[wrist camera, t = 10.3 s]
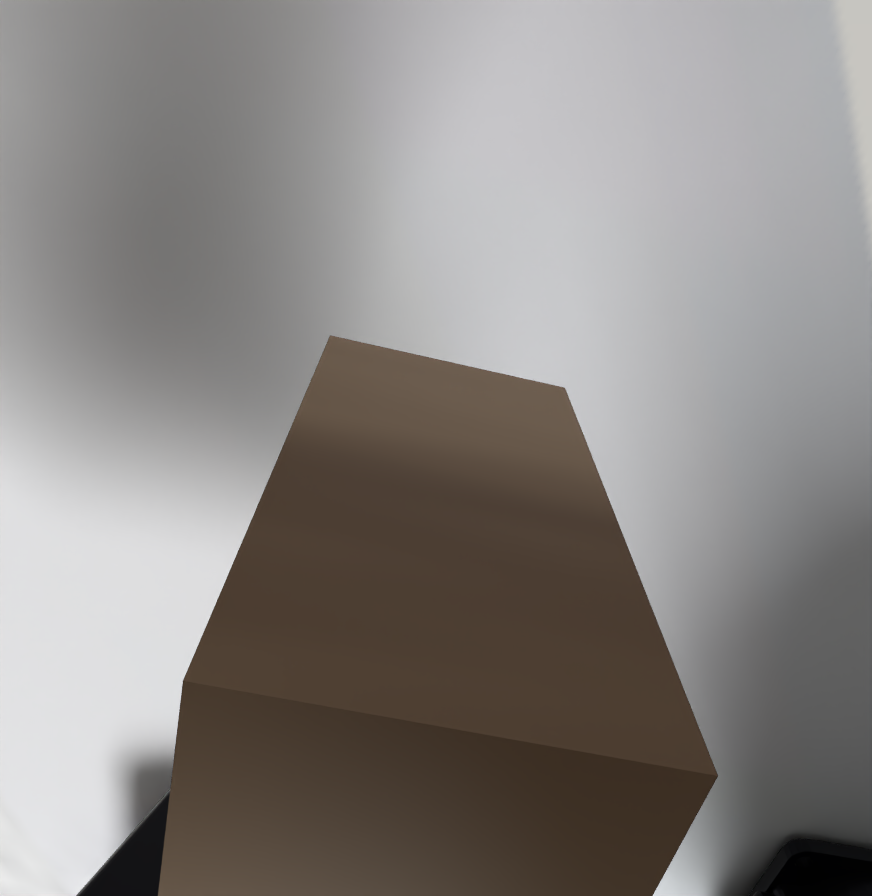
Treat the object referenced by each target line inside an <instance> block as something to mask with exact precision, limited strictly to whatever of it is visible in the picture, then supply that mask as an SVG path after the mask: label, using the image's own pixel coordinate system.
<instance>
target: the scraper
mask: <svg viewBox="0 0 872 896" xmlns="http://www.w3.org/2000/svg"><path fill="white" fill-rule="evenodd" d="M717 777H718V775H717V772H716V770H715V767H714V765H713V762H712V760H711V757H710V755H709V752H708V750H707V747H706V744H705V742H704V739H703V737H702V734H701V732H700V729H699V727H698V724H697V722H696V719H695V717H694V714H693V712H692V709H691V706H690V704H689V701H688V699H687V696H686V694H685V691H684V689H683V686H682V684H681V681H680V679H679V676H678V673H677V671H676V668H675V666H674V663H673V661H672V658H671V656H670V653H669V651H668V648H667V646H666V643H665V641H664V638H663V635H662V633H661V630H660V628H659V625H658V623H657V620H656V618H655V615H654V613H653V610H652V608H651V605H650V603H649V600H648V597H647V595H646V592H645V590H644V587H643V585H642V582H641V580H640V577H639V575H638V572H637V570H636V567H635V565H634V562H633V559H632V557H631V554H630V552H629V549H628V547H627V544H626V542H625V539H624V537H623V534H622V532H621V529H620V527H619V524H618V521H617V519H616V516H615V514H614V511H613V509H612V506H611V504H610V501H609V499H608V496H607V494H606V491H605V488H604V486H603V483H602V481H601V478H600V476H599V473H598V471H597V468H596V466H595V463H594V461H593V458H592V456H591V453H590V450H589V448H588V445H587V443H586V440H585V438H584V435H583V433H582V430H581V428H580V425H579V423H578V420H577V418H576V415H575V412H574V410H573V407H572V405H571V402H570V400H569V397H568V395H567V392H566V390H565V388H563V387H559V386H554V385H550V384H545V383H541V382H536V381H532V380H527V379H523V378H518V377H514V376H509V375H505V374H500V373H496V372H491V371H487V370H482V369H478V368H474V367H469V366H465V365H460V364H456V363H451V362H447V361H442V360H438V359H433V358H429V357H424V356H420V355H415V354H411V353H406V352H402V351H397V350H393V349H388V348H384V347H379V346H375V345H370V344H366V343H361V342H357V341H352V340H348V339H344V338H339V337H335V336H330V337H329V339H328V342H327V344H326V346H325V349H324V351H323V353H322V356H321V358H320V360H319V363H318V365H317V368H316V370H315V372H314V375H313V377H312V379H311V382H310V384H309V386H308V389H307V391H306V393H305V396H304V398H303V400H302V403H301V405H300V407H299V410H298V412H297V414H296V417H295V419H294V422H293V424H292V426H291V429H290V431H289V433H288V436H287V438H286V440H285V443H284V445H283V447H282V450H281V452H280V454H279V457H278V459H277V461H276V464H275V466H274V469H273V471H272V473H271V476H270V478H269V480H268V483H267V485H266V487H265V490H264V492H263V494H262V497H261V499H260V501H259V504H258V506H257V508H256V511H255V513H254V516H253V518H252V520H251V523H250V525H249V527H248V530H247V532H246V534H245V537H244V539H243V541H242V544H241V546H240V548H239V551H238V553H237V555H236V558H235V560H234V562H233V565H232V567H231V570H230V572H229V574H228V577H227V579H226V581H225V584H224V586H223V588H222V591H221V593H220V595H219V598H218V600H217V602H216V605H215V607H214V609H213V612H212V614H211V617H210V619H209V621H208V624H207V626H206V628H205V631H204V633H203V635H202V638H201V640H200V642H199V645H198V647H197V649H196V652H195V654H194V656H193V659H192V661H191V663H190V666H189V668H188V671H187V673H186V675H185V678H184V680H183V686H182V695H181V703H180V712H179V720H178V729H177V737H176V746H175V754H174V763H173V771H172V780H171V788H170V797H169V805H168V814H167V822H166V831H165V839H164V848H163V856H162V865H161V874H160V882H159V891H158V896H653V894H654V892H655V890H656V888H657V886H658V885H659V883H660V881H661V879H662V877H663V875H664V874H665V872H666V870H667V868H668V866H669V865H670V863H671V861H672V859H673V857H674V855H675V854H676V852H677V850H678V848H679V846H680V844H681V843H682V841H683V839H684V837H685V835H686V833H687V832H688V830H689V828H690V826H691V824H692V822H693V821H694V819H695V817H696V815H697V813H698V811H699V810H700V808H701V806H702V804H703V802H704V800H705V799H706V797H707V795H708V793H709V791H710V790H711V788H712V786H713V784H714V782H715V780H716V779H717Z"/></svg>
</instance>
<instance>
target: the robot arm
mask: <svg viewBox="0 0 872 896" xmlns="http://www.w3.org/2000/svg"><path fill="white" fill-rule="evenodd" d="M169 797H170V790H169V791H168V792H167V793H166V794H165V796H164V797H163V798H162V799H161V800H160V801H159V802H158V804H157V805H156V806H155V807H154V808H153V809H152V810H151V811H150V813H149V814H148V815H147V816H146V817H145V818H144V819H143V821H142V822H141V823H140V824H139V825H138V826H137V827H136V828H135V830H134V831H133V832H132V833H131V834H130V835H129V836H128V838H127V839H126V840H125V841H124V842H123V843H122V844H121V845H120V847H119V848H118V849H117V850H116V851H115V852H114V853H113V855H112V856H111V857H110V858H109V859H108V860H107V861H106V862H105V864H104V865H103V866H102V867H101V868H100V869H99V870H98V872H97V873H96V874H95V875H94V876H93V877H92V878H91V879H90V881H89V882H88V883H87V884H86V885H85V886H84V887H83V889H82V890H81V891H80V892H79V893H78V894H77V895H76V896H158V891H159V882H160V874H161V865H162V856H163V848H164V839H165V831H166V822H167V814H168V805H169ZM749 896H872V850H869V849H864V848H858V847H852V846H846V845H840V844H834V843H828V842H822V841H816V840H810V839H795V840H792V841H790V842H788V843H786V844H785V845H784V846H783V847H782V848H781V850H780V851H779V853H778V854H777V856H776V857H775V859H774V860H773V862H772V863H771V864H770V866H769V867H768V869H767V870H766V872H765V873H764V875H763V876H762V878H761V879H760V880H759V882H758V883H757V885H756V886H755V888H754V889H753V891H752V892H751V894H750V895H749Z"/></svg>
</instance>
